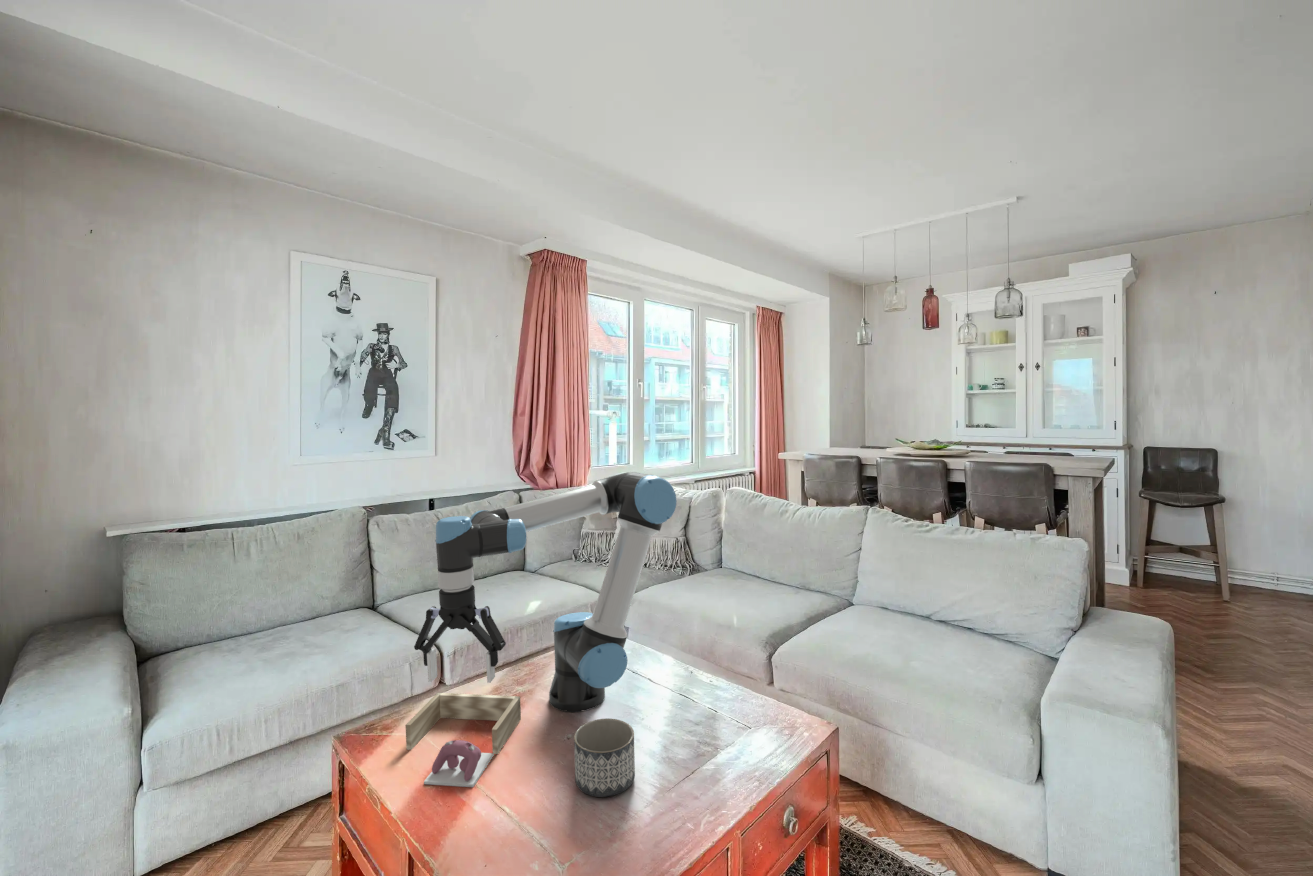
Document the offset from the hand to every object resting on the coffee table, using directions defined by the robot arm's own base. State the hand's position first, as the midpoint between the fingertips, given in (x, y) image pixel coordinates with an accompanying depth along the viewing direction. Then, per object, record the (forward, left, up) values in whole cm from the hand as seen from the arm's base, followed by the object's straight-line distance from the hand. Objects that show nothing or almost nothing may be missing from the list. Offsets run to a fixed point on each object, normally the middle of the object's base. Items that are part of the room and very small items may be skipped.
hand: (461, 679), depth 130 cm
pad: (0, +3, -19) cm, 19 cm away
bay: (+5, -11, -19) cm, 23 cm away
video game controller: (0, +4, -19) cm, 19 cm away
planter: (-33, +4, -19) cm, 39 cm away
